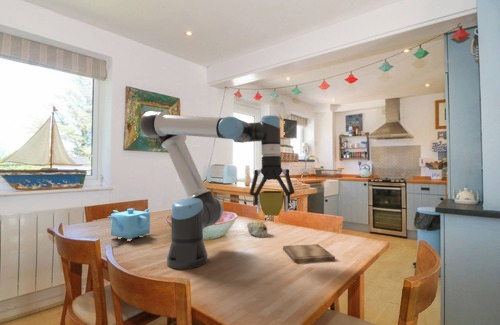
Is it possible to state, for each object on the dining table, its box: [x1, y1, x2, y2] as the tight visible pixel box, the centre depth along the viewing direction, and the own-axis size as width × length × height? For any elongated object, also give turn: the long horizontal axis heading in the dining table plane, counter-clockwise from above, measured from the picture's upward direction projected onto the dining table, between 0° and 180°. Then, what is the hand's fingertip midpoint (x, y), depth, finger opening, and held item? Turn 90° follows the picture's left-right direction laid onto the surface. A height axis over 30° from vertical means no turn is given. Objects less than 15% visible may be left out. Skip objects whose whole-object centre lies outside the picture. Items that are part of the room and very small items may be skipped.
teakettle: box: [107, 208, 151, 239], centre depth 135 cm, size 19×19×15 cm
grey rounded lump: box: [246, 220, 269, 238], centre depth 139 cm, size 10×10×10 cm
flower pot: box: [258, 190, 285, 217], centre depth 104 cm, size 9×9×9 cm
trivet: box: [282, 243, 336, 264], centre depth 109 cm, size 16×16×2 cm
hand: (272, 212), depth 104 cm, fingers closed on flower pot, 10 cm apart
